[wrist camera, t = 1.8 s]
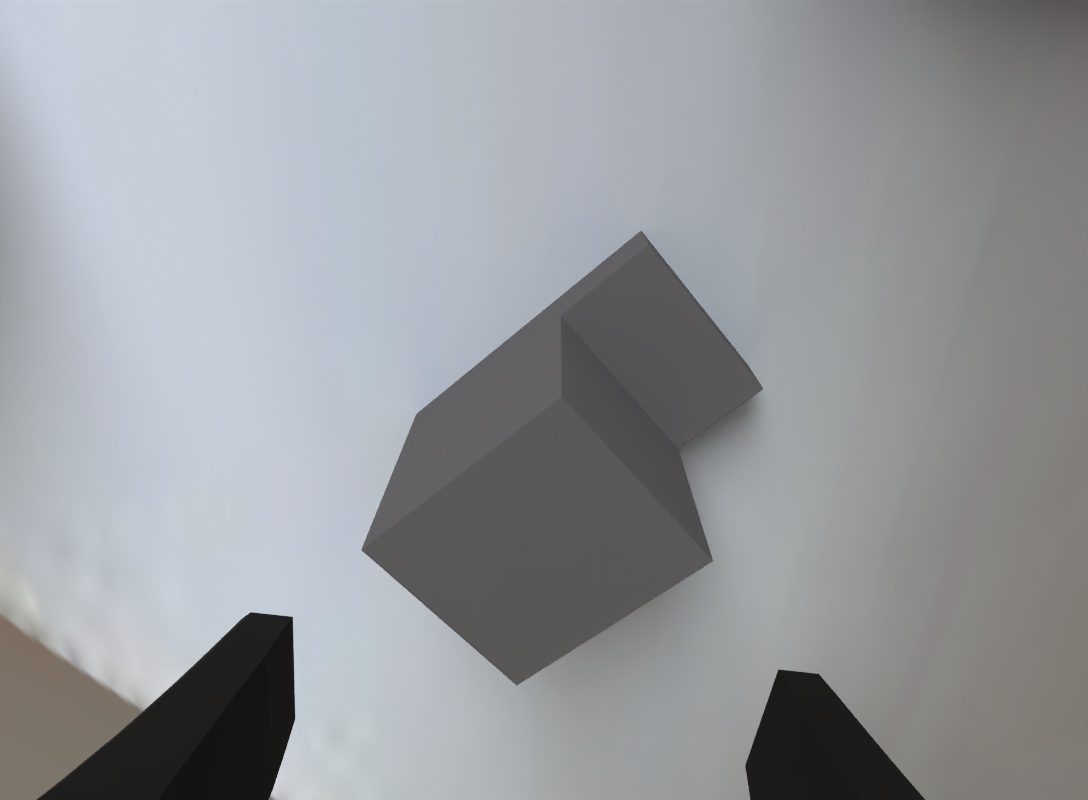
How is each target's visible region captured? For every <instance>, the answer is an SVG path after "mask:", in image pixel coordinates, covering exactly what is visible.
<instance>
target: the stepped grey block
mask: <svg viewBox="0 0 1088 800" xmlns="http://www.w3.org/2000/svg"><path fill="white" fill-rule="evenodd" d="M762 389H763V388H762V386H761V385H760V383H759V382H758V380H757V379H756V377H755V375H754V374H753V372H752V371H751V369H750V368H749V366H748V365H747V363H746V362H745V361H744V360H743V358H742V357H741V356H740V355H739V353H738V352H737V351H736V349H735V348H734V347H733V346H732V344H731V343H730V342H729V341H728V339H727V338H726V337H725V336H724V334H723V333H722V332H721V331H720V329H719V328H718V327H717V326H716V324H715V323H714V322H713V321H712V319H711V318H710V317H709V315H708V314H707V313H706V312H705V310H704V309H703V308H702V307H701V305H700V304H699V303H698V302H697V300H696V299H695V298H694V297H693V295H692V294H691V293H690V292H689V290H688V289H687V288H686V287H685V285H684V284H683V283H682V281H681V280H680V279H679V278H678V276H677V275H676V274H675V273H674V271H673V270H672V269H671V268H670V266H669V265H668V264H667V263H666V261H665V260H664V259H663V258H662V256H661V255H660V254H659V253H658V251H657V250H656V249H655V247H654V246H653V245H652V244H651V242H650V241H649V240H648V239H647V237H646V236H645V235H644V234H643V232H642V231H640V232H639V233H638V234H636V235H635V236H634V237H633V238H632V239H630V240H629V241H628V242H627V243H625V244H624V245H623V246H622V247H621V248H619V249H618V250H617V251H616V252H614V253H613V254H612V255H611V256H610V257H608V258H607V259H606V260H605V261H603V262H602V263H601V264H600V265H599V266H597V267H596V268H595V269H594V270H592V271H591V272H590V273H589V274H587V275H586V276H585V277H584V278H583V279H581V280H580V281H579V282H578V283H576V284H575V285H574V286H573V287H572V288H570V289H569V290H568V291H567V292H565V293H564V294H563V295H562V296H561V297H559V298H558V299H557V300H556V301H554V302H553V303H552V304H551V305H550V306H548V307H547V308H546V309H545V310H543V311H542V312H541V313H540V314H538V315H537V316H536V317H535V318H534V319H532V320H531V321H530V322H529V323H527V324H526V325H525V326H524V327H523V328H521V329H520V330H519V331H518V332H516V333H515V334H514V335H513V336H512V337H510V338H509V339H508V340H507V341H505V342H504V343H503V344H502V345H501V346H499V347H498V348H497V349H496V350H494V351H493V352H492V353H491V354H489V355H488V356H487V357H486V358H485V359H483V360H482V361H481V362H480V363H478V364H477V365H476V366H475V367H474V368H472V369H471V370H470V371H469V372H467V373H466V374H465V375H464V376H463V377H461V378H460V379H459V380H458V381H456V382H455V383H454V384H453V385H452V386H450V387H449V388H448V389H447V390H445V391H444V392H443V393H442V394H440V395H439V396H438V397H437V398H436V399H434V400H433V401H432V402H431V403H429V404H428V405H427V406H426V407H425V408H423V409H422V410H421V411H420V412H418V413H417V414H416V416H415V419H414V421H413V424H412V426H411V429H410V431H409V434H408V436H407V439H406V441H405V444H404V446H403V449H402V451H401V453H400V456H399V458H398V461H397V463H396V466H395V468H394V471H393V473H392V476H391V478H390V481H389V483H388V486H387V488H386V490H385V493H384V495H383V498H382V500H381V503H380V505H379V508H378V510H377V513H376V515H375V518H374V520H373V523H372V525H371V527H370V530H369V532H368V535H367V537H366V540H365V542H364V545H363V547H362V551H363V552H364V553H365V554H367V555H368V556H369V557H370V558H371V559H372V560H373V561H375V562H376V563H377V564H378V565H379V566H380V567H382V568H383V569H384V570H385V571H386V572H387V573H388V574H390V575H391V576H392V577H393V578H394V579H395V580H396V581H398V582H399V583H400V584H401V585H402V586H403V587H404V588H406V589H407V590H408V591H409V592H410V593H411V594H413V595H414V596H415V597H416V598H417V599H418V600H419V601H421V602H422V603H423V604H424V605H425V606H426V607H427V608H429V609H430V610H431V611H432V612H433V613H434V614H435V615H437V616H438V617H439V618H440V619H441V620H442V621H443V622H445V623H446V624H447V625H448V626H449V627H450V628H452V629H453V630H454V631H455V632H456V633H457V634H458V635H460V636H461V637H462V638H463V639H464V640H465V641H466V642H468V643H469V644H470V645H471V646H472V647H473V648H474V649H476V650H477V651H478V652H479V653H480V654H481V655H483V656H484V657H485V658H486V659H487V660H488V661H489V662H491V663H492V664H493V665H494V666H495V667H496V668H497V669H499V670H500V671H501V672H502V673H503V674H504V675H505V676H507V677H508V678H509V679H510V680H511V681H512V682H513V683H515V684H516V685H518V684H520V683H521V682H523V681H524V680H526V679H528V678H529V677H531V676H532V675H534V674H535V673H537V672H539V671H540V670H542V669H543V668H545V667H546V666H548V665H550V664H551V663H553V662H554V661H556V660H558V659H559V658H561V657H562V656H564V655H565V654H567V653H569V652H570V651H572V650H573V649H575V648H576V647H578V646H580V645H581V644H583V643H584V642H586V641H587V640H589V639H591V638H592V637H594V636H595V635H597V634H598V633H600V632H602V631H603V630H605V629H606V628H608V627H610V626H611V625H613V624H614V623H616V622H617V621H619V620H621V619H622V618H624V617H625V616H627V615H628V614H630V613H632V612H633V611H635V610H636V609H638V608H639V607H641V606H643V605H644V604H646V603H647V602H649V601H651V600H652V599H654V598H655V597H657V596H658V595H660V594H662V593H663V592H665V591H666V590H668V589H669V588H671V587H673V586H674V585H676V584H677V583H679V582H680V581H682V580H684V579H685V578H687V577H688V576H690V575H692V574H693V573H695V572H696V571H698V570H699V569H701V568H703V567H704V566H706V565H707V564H709V563H710V562H712V561H713V560H712V556H711V553H710V550H709V547H708V544H707V540H706V537H705V534H704V531H703V528H702V525H701V521H700V518H699V515H698V512H697V509H696V505H695V502H694V499H693V496H692V493H691V489H690V486H689V483H688V480H687V477H686V474H685V470H684V467H683V464H682V461H681V458H680V454H679V451H678V448H679V447H681V446H682V445H684V444H685V443H687V442H688V441H689V440H691V439H692V438H694V437H695V436H697V435H698V434H699V433H701V432H702V431H704V430H705V429H707V428H708V427H709V426H711V425H712V424H714V423H715V422H717V421H718V420H719V419H721V418H722V417H724V416H725V415H727V414H728V413H729V412H731V411H732V410H734V409H735V408H737V407H738V406H740V405H741V404H742V403H744V402H745V401H747V400H748V399H750V398H751V397H752V396H754V395H755V394H757V393H758V392H760V391H761V390H762Z"/></svg>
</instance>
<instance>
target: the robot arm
mask: <svg viewBox="0 0 1088 800" xmlns="http://www.w3.org/2000/svg"><path fill="white" fill-rule="evenodd" d="M294 721H295V694H294V652H293V617H288V616H279V615H270V614H260V613H249V614H248V615H246V616H245V617H244V618H242V619H241V620H240V621H239V622H238V623H237V624H236V625H235V626H234V627H233V628H232V629H231V630H230V631H229V632H228V633H227V634H226V635H225V636H224V637H223V638H222V639H221V640H220V641H219V642H218V643H217V644H216V645H215V646H214V647H212V648H211V649H210V650H209V651H208V652H207V653H206V654H205V655H204V656H203V657H202V658H201V659H200V660H199V661H198V662H197V663H196V664H195V665H194V666H193V667H191V668H190V669H189V670H188V671H187V672H186V673H185V674H184V675H183V676H182V677H181V678H180V679H179V680H178V681H177V682H175V683H174V684H173V685H172V686H171V687H170V688H169V689H168V690H167V691H165V692H164V693H163V694H162V695H161V696H160V697H159V698H158V699H157V700H155V701H154V702H153V703H152V704H151V705H150V706H149V707H148V708H147V709H145V710H144V711H143V712H142V713H141V714H140V715H139V716H138V717H137V718H135V719H134V720H133V721H132V722H131V723H130V724H129V725H127V726H126V727H125V728H124V729H123V730H122V731H121V732H119V733H118V734H117V735H116V736H115V737H114V738H112V739H111V740H110V741H109V742H107V743H106V744H105V745H104V746H103V747H101V748H100V749H99V750H98V751H96V752H95V753H94V754H93V755H92V756H90V757H89V758H88V759H87V760H86V761H84V762H83V763H82V764H81V765H79V766H78V767H77V768H76V769H75V770H73V771H72V772H71V773H70V774H69V775H67V776H66V777H65V778H64V779H63V780H61V781H60V782H59V783H57V784H56V785H55V786H54V787H52V788H51V789H50V790H49V791H47V792H46V793H45V794H43V795H42V796H41V797H39V798H38V799H37V800H268V799H269V797H270V795H271V792H272V790H273V787H274V784H275V781H276V778H277V775H278V772H279V768H280V765H281V762H282V759H283V756H284V753H285V750H286V747H287V743H288V740H289V737H290V734H291V730H292V727H293V724H294ZM745 766H746V772H747V779H748V786H749V793H750V799H751V800H925V799H924V798H923V797H922V796H921V794H920V793H919V792H918V791H917V790H916V789H915V787H914V786H913V785H912V784H911V783H910V782H909V781H908V779H907V778H906V777H905V776H904V775H903V774H902V772H901V771H900V770H899V769H898V768H897V767H896V765H895V764H894V763H893V762H892V761H891V760H890V758H889V757H888V756H887V755H886V754H885V752H884V751H883V750H882V749H881V748H880V746H879V745H878V744H877V743H876V742H875V741H874V739H873V738H872V737H871V736H870V735H869V733H868V732H867V731H866V730H865V729H864V727H863V726H862V725H861V724H860V723H859V721H858V720H857V719H856V718H855V717H854V715H853V714H852V713H851V712H850V710H849V709H848V708H847V707H846V706H845V704H844V703H843V702H842V701H841V700H840V698H839V697H838V696H837V695H836V694H835V692H834V691H833V690H832V689H831V688H830V687H829V685H828V684H827V683H826V682H825V681H824V680H823V678H822V677H821V676H820V675H819V674H814V673H804V672H795V671H786V670H778V673H777V675H776V678H775V681H774V684H773V687H772V690H771V693H770V696H769V699H768V702H767V705H766V707H765V710H764V713H763V716H762V719H761V722H760V725H759V728H758V731H757V734H756V736H755V739H754V742H753V745H752V748H751V751H750V754H749V757H748V760H747V763H746V765H745Z"/></svg>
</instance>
